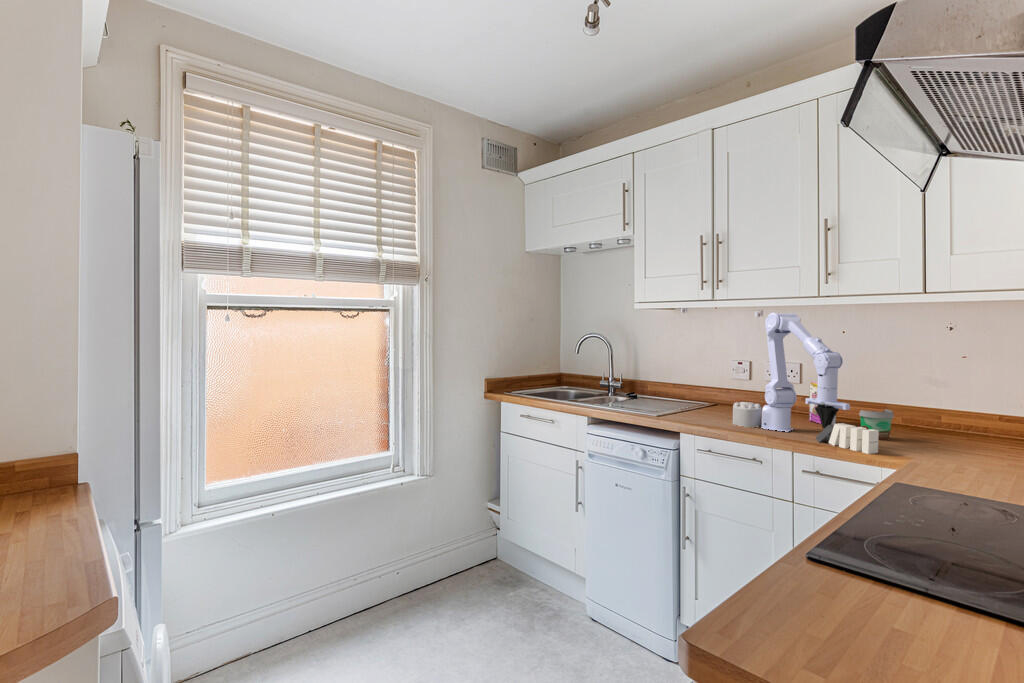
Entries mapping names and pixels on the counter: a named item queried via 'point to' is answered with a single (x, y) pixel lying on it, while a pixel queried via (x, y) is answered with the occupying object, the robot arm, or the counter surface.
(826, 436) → the black domino
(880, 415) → the food container
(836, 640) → the counter surface
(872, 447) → the domino
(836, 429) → the domino
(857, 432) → the domino
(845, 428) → the domino
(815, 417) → the candy bar box
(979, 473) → the counter surface
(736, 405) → the lumpy-topped squat cylinder
